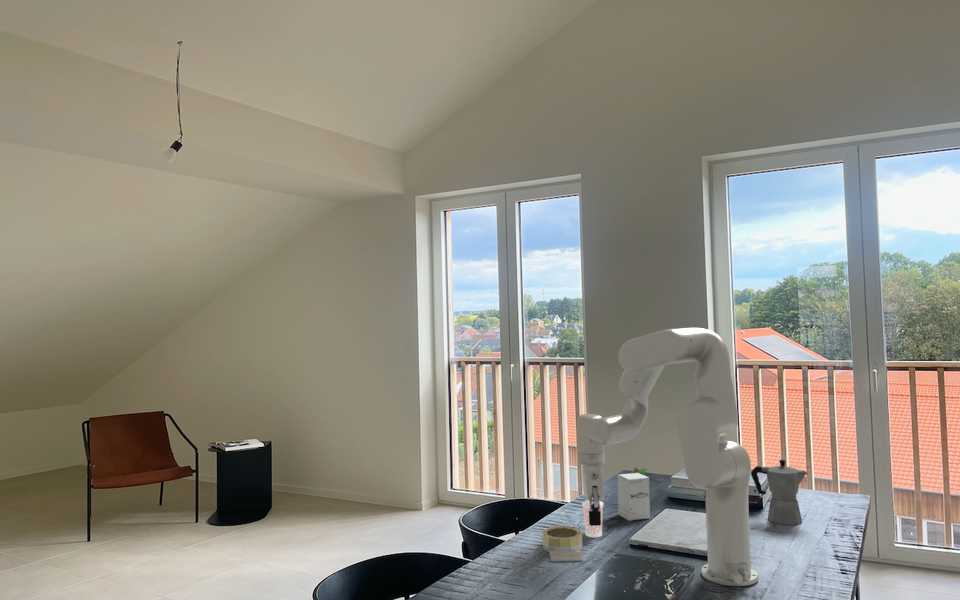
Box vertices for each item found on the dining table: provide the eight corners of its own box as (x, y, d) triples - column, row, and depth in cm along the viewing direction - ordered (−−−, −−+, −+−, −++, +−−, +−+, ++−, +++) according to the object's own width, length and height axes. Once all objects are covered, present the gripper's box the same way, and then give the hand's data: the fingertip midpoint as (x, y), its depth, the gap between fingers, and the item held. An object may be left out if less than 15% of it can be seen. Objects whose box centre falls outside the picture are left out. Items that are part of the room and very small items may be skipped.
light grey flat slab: (587, 560, 168) (587, 552, 168) (546, 561, 168) (546, 553, 168) (579, 540, 183) (579, 533, 184) (541, 541, 184) (541, 534, 184)
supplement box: (629, 521, 199) (627, 479, 200) (617, 514, 207) (616, 474, 207) (651, 518, 201) (649, 477, 202) (639, 512, 209) (637, 471, 209)
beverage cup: (587, 530, 192) (586, 481, 193) (607, 533, 189) (606, 484, 190) (579, 536, 187) (577, 486, 188) (600, 539, 184) (598, 489, 184)
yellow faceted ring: (584, 554, 173) (584, 538, 173) (544, 555, 173) (544, 539, 173) (576, 535, 188) (576, 520, 188) (540, 535, 188) (540, 521, 189)
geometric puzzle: (657, 481, 237) (647, 461, 241) (644, 484, 234) (633, 464, 238) (646, 490, 242) (636, 470, 246) (632, 493, 238) (622, 473, 243)
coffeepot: (808, 518, 198) (806, 457, 198) (810, 527, 189) (808, 464, 189) (753, 513, 204) (750, 454, 204) (752, 522, 195) (750, 461, 196)
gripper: (609, 464, 180) (612, 530, 180) (599, 451, 197) (601, 512, 197) (582, 465, 180) (584, 531, 180) (574, 452, 197) (576, 512, 197)
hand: (593, 520), depth 188 cm, fingers closed on beverage cup, 6 cm apart
